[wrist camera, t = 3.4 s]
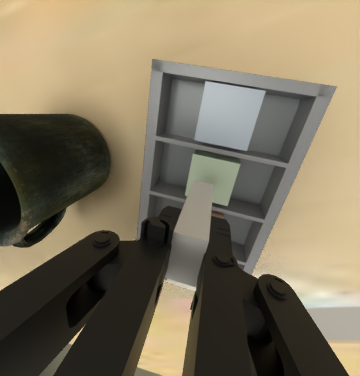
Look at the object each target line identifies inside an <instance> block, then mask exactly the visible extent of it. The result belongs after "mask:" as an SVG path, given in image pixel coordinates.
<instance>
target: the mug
mask: <svg viewBox="0 0 360 376" xmlns="http://www.w3.org/2000/svg"><path fill="white" fill-rule="evenodd" d="M108 171H109V155H108V151H107V147H106V145H105V143H104V141H103V139H102V137H101V136H100V134H99V133H98V132H97V131H96V130H95V129H94V127H93V126H92V125H91V124H89V123H88V122H87V121H85V120H84V119H82V118H80V117H78V116H75V115H71V114H0V246H9V245H13V246H15V247H20V248H22V247H31V246H32V245H34V244H36V243H38V242H40V241H41V240H42V239H44V238H45V237H46V236H47V235H48V234H49V233H51V232H52V231H53V229H54V228H55V227H56V226H57V225H58V224H59V223H60V221H61V220H62V218H63V216H64V214H65V212H66V208H67V207H68V206H69V205H71V204H73V203H75V202H76V201H78V200H80V199H81V198H83V197H85V196H86V195H88V194H90V193H91V192H93V191H95V190H96V189H98V188H99V187H100V186H102V184H103V183H104V182H105V180H106V178H107V175H108ZM39 223H40V224H39ZM37 224H39V225H38V226H37V227H36V228H34V229H33V230H32V231H31V232H29V233H28V234H27V232H28V231H29V229H31V228H32V227H34V226H36V225H37Z"/></svg>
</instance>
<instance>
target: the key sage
mask: <svg viewBox="0 0 360 376" xmlns="http://www.w3.org/2000/svg"><path fill="white" fill-rule="evenodd" d="M239 167H240V161H239V158H235V157H230V156H226V155H221V154H216V153H212V152H207V151H202V150H198V149H196V151H195V152H194V153H193V156H192V161H191V166H190V171H189V176H188V181H187V187H186V192H185V196H188V193H189V191H190V188H191V185H192V183H193V180H197V181H201V182H206V183H210V184H214V187H213V198H212V202H213V203H217V204H220V205H224V206H228V203H229V199H230V196H231V193H232V190H233V187H234V183H235V180H236V177H237V174H238V171H239Z"/></svg>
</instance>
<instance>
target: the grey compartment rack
mask: <svg viewBox="0 0 360 376" xmlns="http://www.w3.org/2000/svg"><path fill="white" fill-rule="evenodd" d="M206 81H207V82H214V83H220V84H226V85H232V86H239V87H245V88H251V89H257V90H264V91H266V92H265V95H264V98H263V101H262V105H261V108H260V111H259V114H258V117H257V120H256V123H255V127H254V130H253V133H252V136H251V139H250V142H249V146H248V149H247V151H244V150H239V149H234V148H229V147H224V146H219V145H215V144H210V143H205V142H200V141H195V140H194V138H195V133H196V128H197V123H198V118H199V112H200V107H201V102H202V97H203V92H204V87H205V82H206ZM335 89H336V86H330V85H323V84H316V83H309V82H303V81H296V80H289V79H283V78H276V77H269V76H262V75H256V74H249V73H242V72H236V71H229V70H222V69H215V68H209V67H202V66H195V65H189V64H182V63H175V62H168V61H162V60H155V59H152V70H151V82H150V93H149V105H148V116H147V128H146V139H145V151H144V163H143V174H142V186H141V197H140V209H139V221H138V232H137V240H139V239H140V234H141V224H142V221H143V220H145V219H147V218H149V217H158V216H159V215H160V212H161V211H162V209H163V208H165V207H167V206H172V207H176V208H180V209H182V207H183V205H184V203H185V201H186V198H187V196H185V192H186V187H187V181H188V176H189V171H190V166H191V161H192V156H193V153H194V152H195V151H196V149H198V150H202V151H207V152H212V153H216V154H221V155H226V156H230V157H235V158H239V161H240V167H239V171H238V174H237V177H236V180H235V183H234V187H233V190H232V193H231V196H230V199H229V203H228V206H224V205H220V204H217V203H213V202H212V210H214V211H218V212H222V213H224V219H226V220H227V222H228V223H229V225H230V232H231V242H232V253H233V256H234V257H235V259H236V260H237V263H238V266H239V267H240V268H241V269H242V270H243V271H245V272H247V273H248V274H250V275H251V274H252V272H253V270H254V268H255V265H256V263H257V261H258V259H259V257H260V254H261V252H262V250H263V248H264V246H265V243H266V241H267V239H268V237H269V235H270V232H271V230H272V228H273V226H274V224H275V221H276V219H277V217H278V215H279V213H280V210H281V208H282V206H283V204H284V202H285V199H286V197H287V195H288V193H289V191H290V188H291V186H292V184H293V182H294V180H295V177H296V175H297V173H298V171H299V169H300V166H301V164H302V162H303V160H304V158H305V155H306V153H307V151H308V149H309V147H310V144H311V142H312V140H313V138H314V136H315V133H316V131H317V129H318V127H319V125H320V122H321V120H322V118H323V116H324V114H325V111H326V109H327V107H328V105H329V103H330V100H331V98H332V96H333V94H334V92H335ZM164 279H165V280H167V279H166V278H164Z"/></svg>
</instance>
